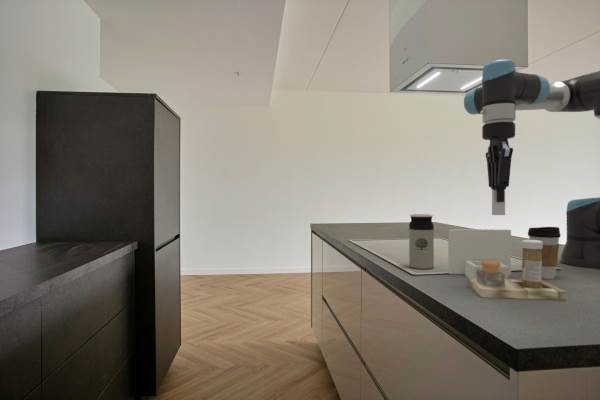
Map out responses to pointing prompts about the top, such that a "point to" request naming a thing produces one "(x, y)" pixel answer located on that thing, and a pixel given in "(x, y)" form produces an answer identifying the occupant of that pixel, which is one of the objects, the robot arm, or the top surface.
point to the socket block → (511, 288)
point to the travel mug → (421, 241)
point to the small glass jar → (490, 266)
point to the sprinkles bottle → (532, 263)
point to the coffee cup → (547, 248)
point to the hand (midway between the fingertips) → (498, 214)
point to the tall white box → (478, 250)
